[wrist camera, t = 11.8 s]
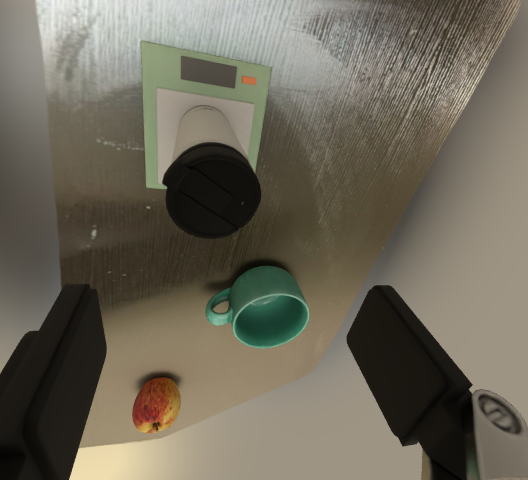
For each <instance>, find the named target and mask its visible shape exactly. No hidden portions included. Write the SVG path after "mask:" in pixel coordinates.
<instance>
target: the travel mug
mask: <svg viewBox="0 0 528 480" xmlns="http://www.w3.org/2000/svg"><path fill="white" fill-rule="evenodd" d="M162 184H163V185H164V186H166V187H167V191H166V206H167V210H168V212H169V215H170V217H171V218H172V220H173V221H174V223H175V224H176V225H177V226H178V227H179V228H180V229H182V230H183V231H185V232H186V233H188V234H191V235H193V236H195V237H200V238H205V239H216V238H223V237H227V236H230V235H231V234H233V233H235V232H237V231H238V230H239V228H241V227H243V226H245V225H246V224H247V223H248V222H249V221H250V220H251V218H252V217H253V216H254V213H255V212H256V210H257V208H258V206H259V204H260V202H261V189H260V184H259V181H258V179H257V176H256V175H255V173H254V170H253V168H252V165H251V163H250V161H249V159H248V157H247V155H246V153H245V152H244V150H243V148H242V146H241V144H240V142H239V140H238V138H237V136H236V134H235V132H234V130H233V128H232V126H231V125H230V123H229V121H228V119H227V118H226V116H225V115H224V114H223V113H222V112H221V111H220V110H218V109H216V108H214V107H212V106H208V105H199V106H195V107H193V108H191V109H189V110H188V111H187V112H186V113H185V114H184V115H183V117H182V118H181V120H180V124H179V128H178V132H177V137H176V142H175V147H174V151H173V156H172V161H171V165H170V166H169V168H168V169H167V171H166V172H165V173H164V176H163V180H162Z"/></svg>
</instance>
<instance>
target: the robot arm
mask: <svg viewBox="0 0 528 480" xmlns="http://www.w3.org/2000/svg"><path fill="white" fill-rule="evenodd" d="M347 344H348V346H349V348H350V350H351V352H352V354H353V356H354V358H355V360H356V362H357V364H358V366H359V368H360V370H361V372H362V374H363V376H364V378H365V380H366V382H367V384H368V386H369V388H370V390H371V392H372V393H373V396H374V397H375V399H376V401H377V403H378V405H379V407H380V409H381V411H382V413H383V415H384V417H385V419H386V421H387V423H388V425H389V427H390V429H391V431H392V432H393V434H394V435H395V436H397V437H398V438H399V440H400V442H401V444H402V446H408V445H414V444H417V443H418V442H419V443H420V445H421V446H422V448H423V456H422V479H421V480H528V427H527V425H526V422H525V420H524V419H523V417H522V416H521V414H520V413H519V412H518V411H517V410H516V409H515V407H514V406H513V405H512V404H510V403H509V402H508V401H507V400H505V399H504V398H502V397H501V396H499V395H498V394H496V393H493V392H491V391H489V390H484V389H479V390H476V391H475V392H474V393H473V394H472V393H471V392H470V391H469V388H470V387H471V386H472V383H471V382H470V381H469V380H468V378H467V377H466V376H465V375H464V374H463V372H462V371H461V370H460V369H459V368H458V366H457V365H456V364H455V363H454V362H453V360H452V359H451V358H450V357H449V355H448V354H447V353H446V352H445V350H444V349H443V348H442V347H441V346H440V345H439V343H438V342H437V341H436V339H435V338H434V337H433V336H432V335H431V333H430V332H429V331H428V330H427V329H426V327H425V326H424V325H423V324H422V322H421V321H420V320H419V319H418V318H417V317H416V315H415V314H414V313H413V311H412V310H411V309H410V308H409V307H408V305H407V304H406V303H405V302H404V301H403V299H402V298H401V297H400V296H399V294H398V293H397V292H396V291H395V290H394V288H392V287H391V286H389V285H376V286H374V287H373V288H372V289H371V290H369V291H368V294H367V295H366V298H365V299H364V302H363V304H362V306H361V308H360V310H359V312H358V314H357V316H356V318H355V320H354V322H353V324H352V326H351V328H350V331H349V332H348V334H347ZM106 351H107V346H106V340H105V334H104V328H103V322H102V317H101V311H100V305H99V299H98V293H97V290H96V289H91V288H90V285H89V284H66V285H65V286H64V287H63V289H62V290H61V292H60V294H59V296H58V297H57V299H56V301H55V303H54V305H53V306H52V308H51V310H50V312H49V314H48V315H47V317H46V319H45V321H44V322H43V324H42V326H41V328H40V329H39V331H29V332H28V333H26V334H25V335H24V336H23V338H22V339H21V340H20V342H19V344H18V346H17V347H16V349H15V350H14V352H13V354H12V355H11V357H10V359H9V360H8V362H7V364H6V365H5V367H4V368H3V370H2V372H1V374H0V480H69V478H70V475H71V472H72V468H73V464H74V462H75V458H76V455H77V452H78V448H79V445H80V441H81V438H82V435H83V431H84V428H85V425H86V421H87V418H88V415H89V411H90V408H91V405H92V401H93V398H94V395H95V391H96V388H97V384H98V381H99V378H100V374H101V371H102V368H103V364H104V361H105V357H106Z"/></svg>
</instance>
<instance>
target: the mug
mask: <svg viewBox="0 0 528 480" xmlns="http://www.w3.org/2000/svg"><path fill="white" fill-rule="evenodd" d="M227 300H229V308H228V311H227V312H225V313H217V312H215V311H213V308H214V307H215V306H216V305H218V304H219V303H221V302H224V301H227ZM206 317H207V319H208V321H209V322H210V323H211V324H213V325H217V326H218V325H224V324H227V323H230V322H231V323H232V329H233V333H234V335H235V336H236V338H237V339H238V340H239V341H240V342H242V343H243V344H245V345H247V346H250V347H255V348H271V347H276V346H279V345H282V344H284V343H287V342H289V341H290V340H292V339H294V338H295V337H296V336H298V335H299V334H300V333H301V332H302V331H303V329H304V328H305V327H306V325H307V323H308V320H309V309H308V306H307V303H306V301H305V299H304V296H303V294H302V292H301V290H300V288H299V286H298V284H297V282H296V281H295V279H294V278H293V277H292V276H291V275H290V274H289V273H288V272H287V271H285V270H283V269H281V268H279V267H275V266H259V267H255V268H252V269H250V270H248V271H246V272H244V273H243V274H242V275H241V276H239V277H238V278H237V280H236V281H235V282H234V284H233V286H232V287H231V288H227V289H224V290H222V291H220V292H218V293H217V294H215V295H214V296H213V297H212V298H211V299H210V300H209V302H208V304H207V306H206Z"/></svg>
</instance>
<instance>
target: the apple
mask: <svg viewBox="0 0 528 480" xmlns="http://www.w3.org/2000/svg"><path fill="white" fill-rule="evenodd" d="M180 403H181V398H180V393H179V390H178V388H177V386H176V384H175V382H174V381H173V380H171V379H170V378H166V377H159V378H154V379H152V380H150V381H148V382H147V383H146V384H145V385H144V386H143V387H142V389H141V390H140V392H139V393H138V395H137V397H136V399H135V402H134V406H133V413H132V416H133V422H134V424H135V426H136V428H137V429H138V430H139V431H141V432H143V433H155V432H159V431H162V430H165V429H166V428H168V427H169V426H170V425H171V424H172V423H173V422H174V420H175V419H176V417H177V415H178V412H179V409H180Z"/></svg>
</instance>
